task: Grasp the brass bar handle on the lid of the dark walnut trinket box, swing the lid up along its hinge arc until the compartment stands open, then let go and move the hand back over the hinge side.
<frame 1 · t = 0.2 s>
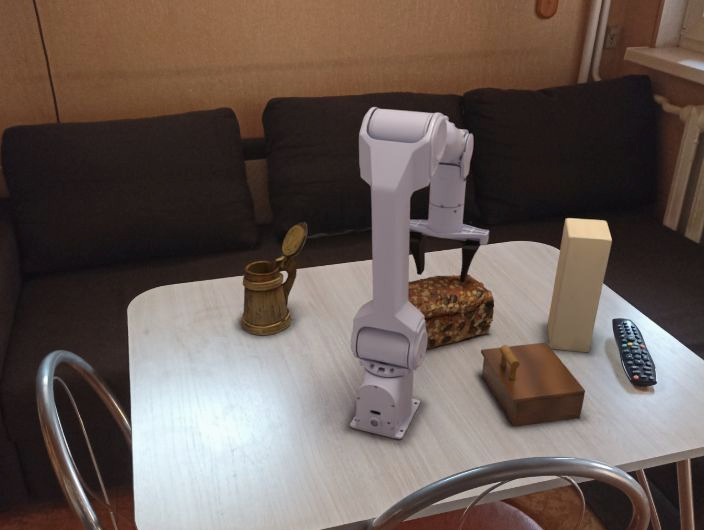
hand: (441, 275, 122), 10 cm above the table, tool pointing down, fingers open, 7 cm apart
box lid: (531, 361, 105), point 6 cm above the table, hinge at 0.0°
bread: (432, 333, 125), on the table
beige tall block: (569, 340, 122), on the table
wooden mug: (277, 320, 129), on the table
trinket box: (528, 395, 108), on the table
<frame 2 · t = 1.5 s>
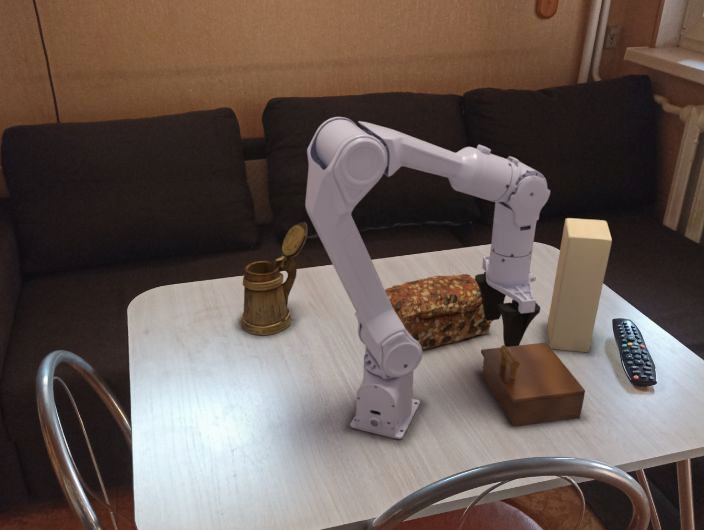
hand: (501, 331, 105), 10 cm above the table, tool pointing down, fingers open, 7 cm apart
nothing on the table moved.
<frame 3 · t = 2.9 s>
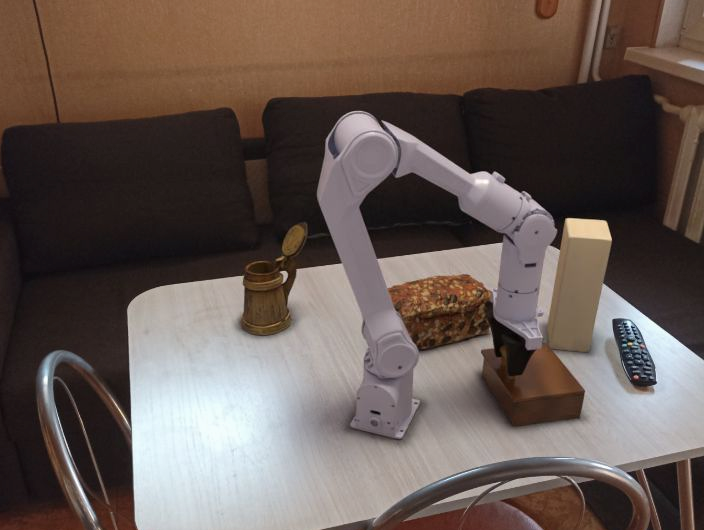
hand: (508, 365, 105), 6 cm above the table, tool pointing down, fingers closed on box lid, 4 cm apart
box lid: (531, 361, 105), point 6 cm above the table, hinge at 0.0°, touching gripper
everything else where it was.
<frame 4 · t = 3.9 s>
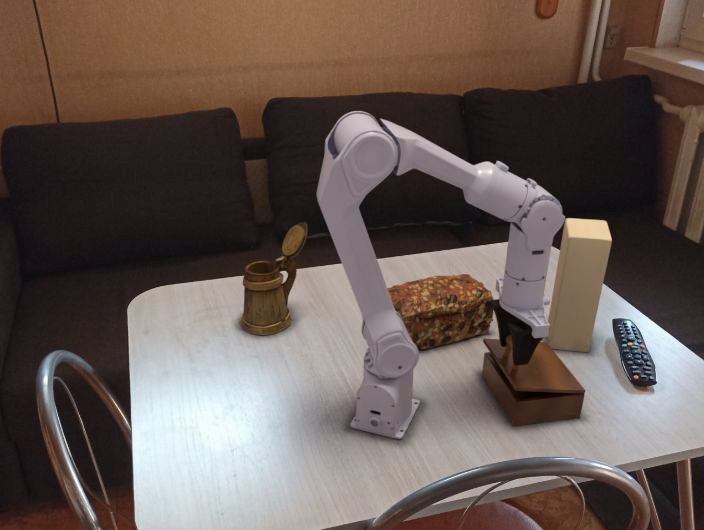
hand: (514, 354, 104), 8 cm above the table, tool pointing down, fingers closed on box lid, 4 cm apart
box lid: (535, 355, 105), point 7 cm above the table, hinge at 11.0°, touching gripper
everything else where it was.
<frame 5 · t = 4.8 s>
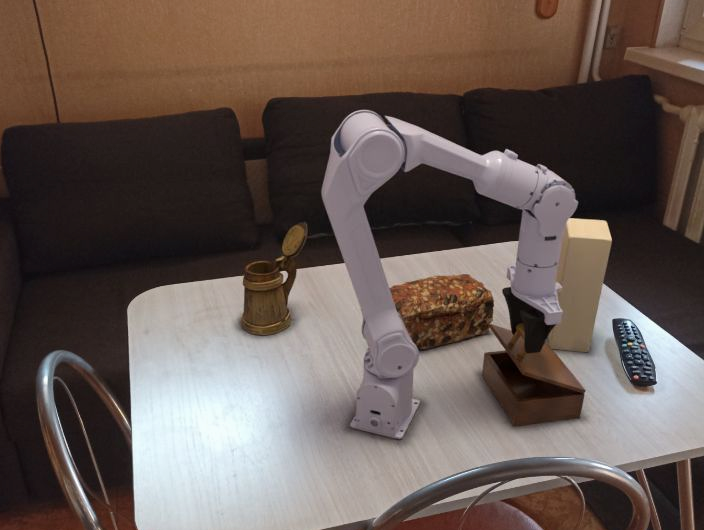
hand: (525, 342, 103), 10 cm above the table, tool pointing down, fingers closed on box lid, 4 cm apart
box lid: (541, 348, 104), point 9 cm above the table, hinge at 25.1°, touching gripper
everything else where it was.
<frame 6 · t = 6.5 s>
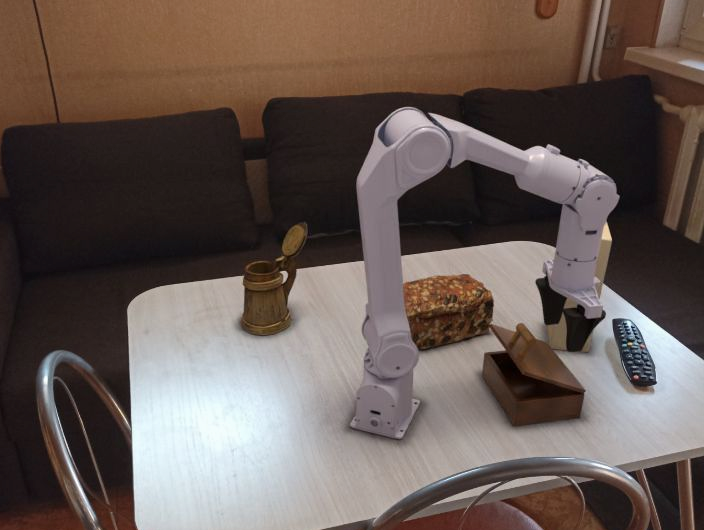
hand: (562, 336, 104), 10 cm above the table, tool pointing down, fingers open, 7 cm apart
box lid: (541, 348, 104), point 9 cm above the table, hinge at 25.3°
everything else where it was.
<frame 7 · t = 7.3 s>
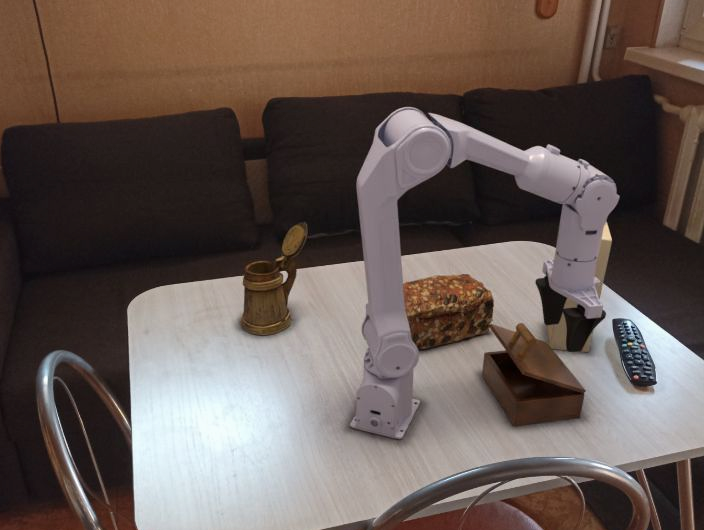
hand: (562, 336, 104), 10 cm above the table, tool pointing down, fingers open, 7 cm apart
nothing on the table moved.
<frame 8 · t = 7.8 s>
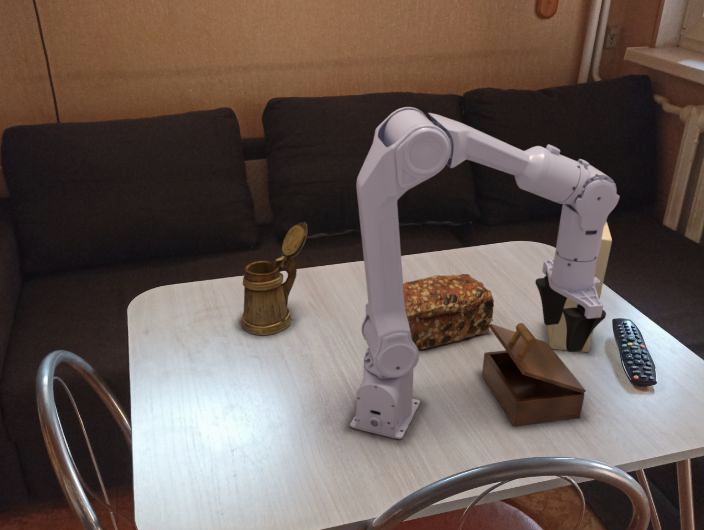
hand: (562, 336, 104), 10 cm above the table, tool pointing down, fingers open, 7 cm apart
nothing on the table moved.
at the end: box lid at +25° (first picture: +0°); the gripper is holding nothing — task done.
